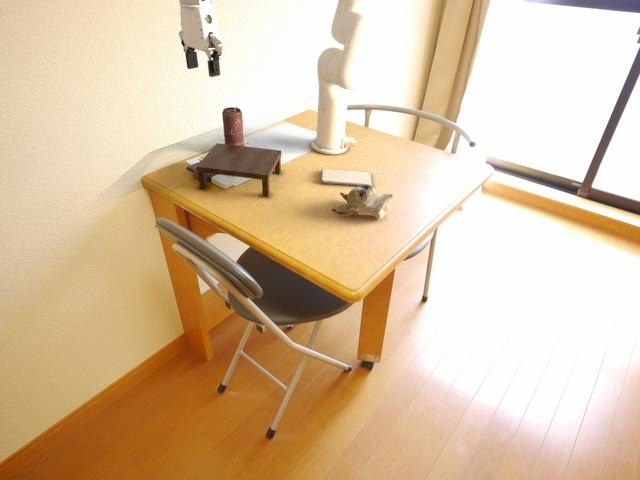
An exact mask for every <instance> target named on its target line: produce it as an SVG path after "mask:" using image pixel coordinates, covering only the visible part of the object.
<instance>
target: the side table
mask: <svg viewBox="0 0 640 480" xmlns="http://www.w3.org/2000/svg"><path fill="white" fill-rule="evenodd" d="M195 168H196V170H195V171H196V172H197V176H198V182H199V183H198V184H199V189H200V190H206V189H207V188H208V186H209V185H208V179H207V174H212V175H218V176H219V175H221V176H229V177H237V178H245V179H254V180H260V181H261V190H262V197H263V198H269V196H270V178H271V176H272V174H273V173H274V174H276V175H280V174H281V172H282V150H281V149H280V150H279V149H271V148H263V147H254V146H245V145H244V146H237V145H228V144H225V143H218V142H217V143H215V144H214V146H212V148H211V149H210V150H209V151H208V152H207V153H206V155H205V156H204V157H203V158H201V160H200V161H199V162H198V163H197V165H196V166H195Z"/></svg>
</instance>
